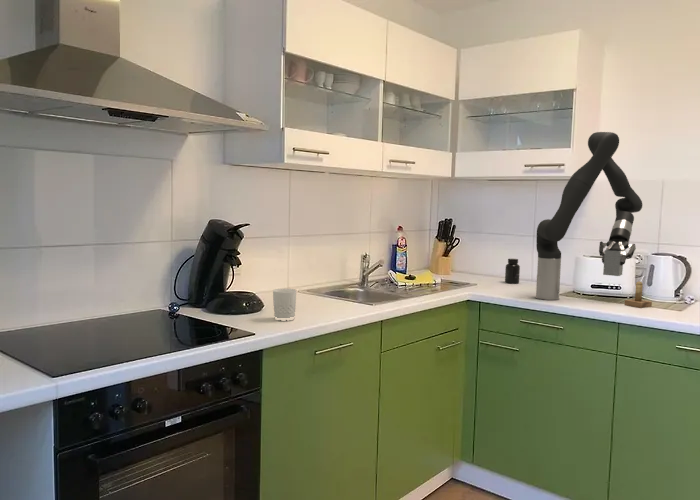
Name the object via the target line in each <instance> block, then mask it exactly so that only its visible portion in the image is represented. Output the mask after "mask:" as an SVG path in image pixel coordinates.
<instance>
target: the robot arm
mask: <svg viewBox="0 0 700 500" xmlns="http://www.w3.org/2000/svg"><path fill="white" fill-rule="evenodd" d="M587 146H588V150H589V151H590V153H591V154H592V156H591V158H590V159H589V160H588V161H587V162H586V163H584V165H582V166H581V167H580V168H578V169H577V170H576V171H575V172H574V173H573V174H572V175H571V176H570V178H569V180H568V181H567V183H566V184H565V186H564V188H563V191H562V194H561V200H560V204H559V206H558V209H557V211H556V212H555V213H554V216H552V218H551V219H549V218H548V219H547V218H546V219H544V220H541V221H540V222H539V224H538V225H537V228H536V251H537V270H536V271H537V273H536V284H535V285H536V287H535V297H536V299H539V300H546V301H556V300H560V290H561V288H560V287H561V269H562V268H561V267H562V266H561V265H562V264H561V263H562V251H561V250H560V249H559V247H558V242H560V241H561V240H562V239H563V238H564V237H565V236H566V234H567V232H568V231H569V230H568V229H569V228H570V225H571V223H572V220H573V219H574V217H575V215H576V213H577V212H578V210H579V209H580V207H581V205H582V203H584V200H585V198H586V197H587V196H588V194H589V192H590V191H591V189H592V187H593V186H594V184H595V182H596V180H597V179H598V177H599V176H600V174H601V173H602V172H603V173H604V175H605V176H606V178H607V181H608V183H609V185H610V187H611V189H612V190H611V191H612V192H613V194H614V196H615V197H619V199H617V201H616V202H615V205H614V207H615V220H614V223H613V225H612V228H611V231H610V235H609V238H608V241H607V242H604V241H600V242H599V245H598V246H599V247H598V254H599V256H600V257H601V262H602V263H603V265H604V255H605V250H610V249H611V250H621V251H623V255H622V258H621V261H620V264H621V265H622V266H623V267H624V265H625V263H626V260H627V259H632V257H633V255H634V254H635V251H636V249H637V248H636V243H632V244H630V243H629V242H630V239H631V235H632V231H633V230H632V229H633V223H634V220H635V216H634V214H633V213H638V212H640V211H641V210H642V208H643V200H642V198H641V197H640V196H639V195H638V193H637V192H636V191H635V190H634V189H633V188H632V187H631V184H630V182H629V179H628V177H627V175H626V173H625V171H623V170H622V168H621V167H620V166H619V165H618V164H617V163H616V162H615V160H614V159H613V158H612V157H613V156H614V154H615V153H616V152H617V150H618V148H619V146H620V137H619V135H618V134H617V133H615V132H611V131H596V132H593V133H592V134H591V135H590V136H589V137H588V140H587ZM605 248H606V249H605ZM604 249H605V250H604ZM627 249H629V250H628V253H627V252H626V250H627Z"/></svg>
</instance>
